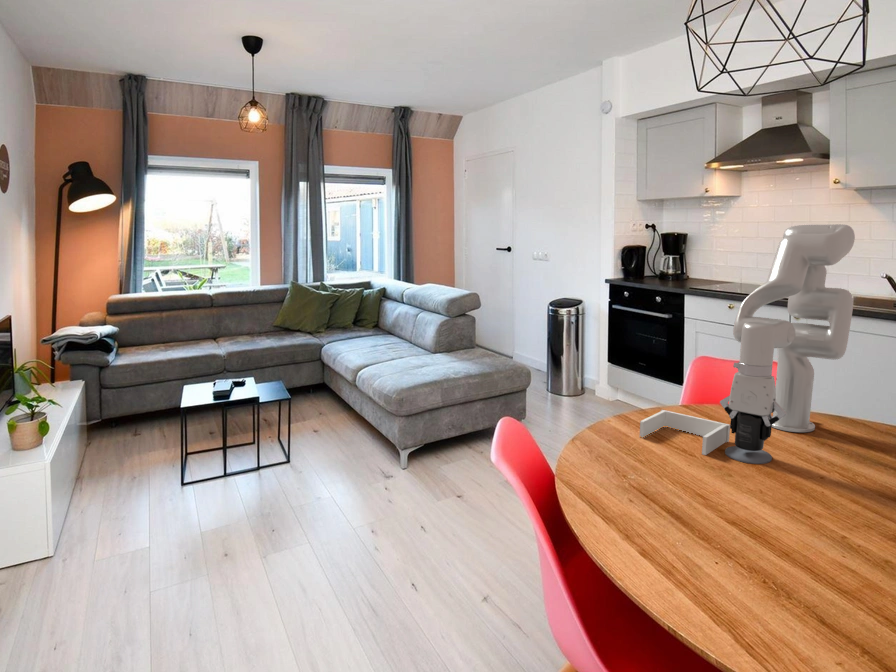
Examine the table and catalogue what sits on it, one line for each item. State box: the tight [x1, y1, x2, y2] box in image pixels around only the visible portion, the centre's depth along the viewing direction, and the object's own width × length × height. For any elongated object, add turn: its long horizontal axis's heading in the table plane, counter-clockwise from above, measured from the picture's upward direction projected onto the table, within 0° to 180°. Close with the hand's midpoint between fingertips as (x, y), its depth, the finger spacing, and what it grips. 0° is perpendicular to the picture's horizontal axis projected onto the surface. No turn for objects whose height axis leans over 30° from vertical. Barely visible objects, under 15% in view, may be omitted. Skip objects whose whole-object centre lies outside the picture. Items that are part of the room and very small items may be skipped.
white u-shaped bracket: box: [639, 409, 731, 456], centre depth 162 cm, size 14×20×5 cm
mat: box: [724, 445, 773, 465], centre depth 150 cm, size 11×11×1 cm
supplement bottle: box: [734, 412, 765, 451], centre depth 149 cm, size 7×7×12 cm
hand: (749, 435), depth 149 cm, fingers closed on supplement bottle, 6 cm apart
